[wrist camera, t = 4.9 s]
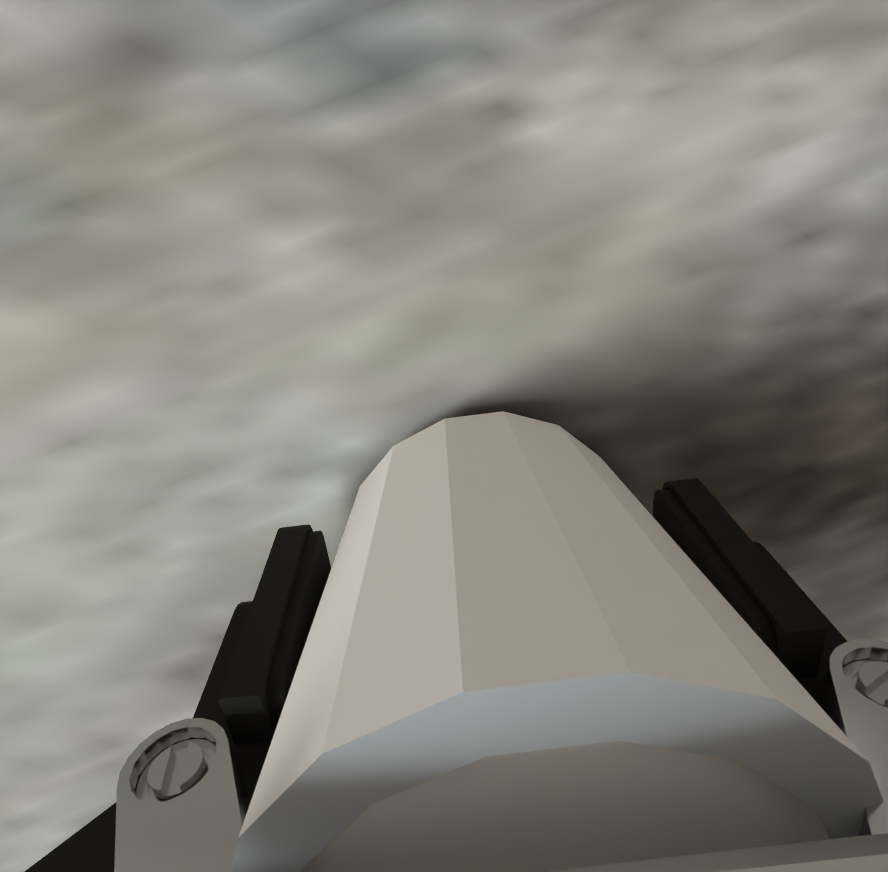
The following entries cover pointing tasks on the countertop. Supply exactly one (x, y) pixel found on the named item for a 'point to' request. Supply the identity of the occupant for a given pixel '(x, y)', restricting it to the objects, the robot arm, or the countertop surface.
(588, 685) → the white grey-rimmed cylinder
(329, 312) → the countertop surface
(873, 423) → the countertop surface
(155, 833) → the robot arm
